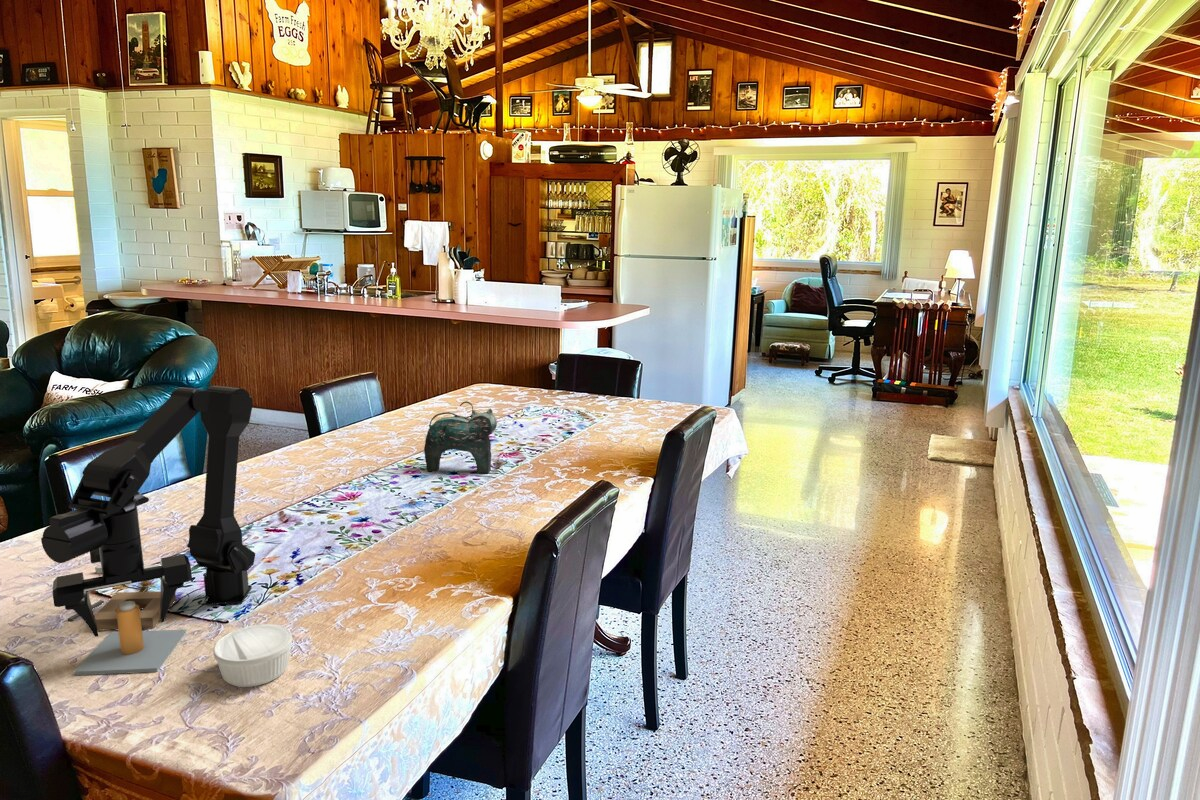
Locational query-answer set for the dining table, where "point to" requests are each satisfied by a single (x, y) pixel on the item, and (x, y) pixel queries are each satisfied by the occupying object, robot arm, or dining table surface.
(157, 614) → the brown square frame
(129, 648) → the orange cylinder
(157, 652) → the rubber mat
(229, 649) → the ramekin
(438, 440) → the green animal figurine
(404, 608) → the dining table surface
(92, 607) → the strip
